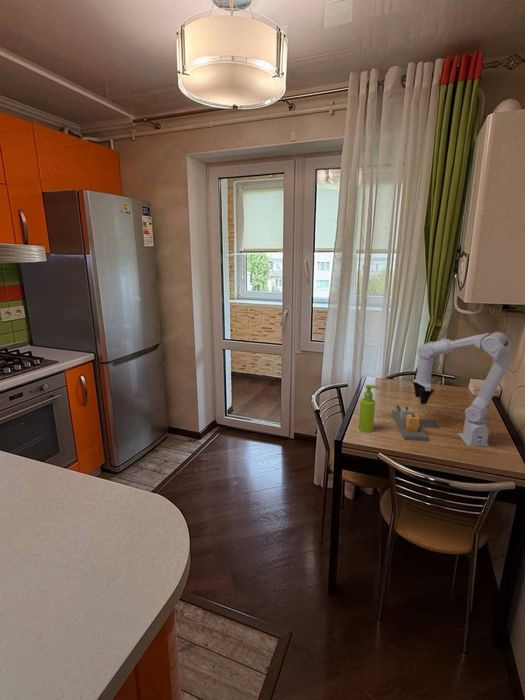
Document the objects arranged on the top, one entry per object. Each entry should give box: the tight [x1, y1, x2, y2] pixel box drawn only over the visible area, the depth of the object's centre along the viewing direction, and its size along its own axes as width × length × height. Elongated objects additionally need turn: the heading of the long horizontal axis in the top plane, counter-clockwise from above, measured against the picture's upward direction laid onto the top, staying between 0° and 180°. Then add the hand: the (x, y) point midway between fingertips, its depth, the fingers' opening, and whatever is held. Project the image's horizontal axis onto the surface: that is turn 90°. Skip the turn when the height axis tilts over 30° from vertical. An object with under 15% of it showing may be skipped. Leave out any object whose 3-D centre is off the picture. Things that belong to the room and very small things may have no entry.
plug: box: [405, 413, 420, 432], centre depth 154 cm, size 4×4×8 cm
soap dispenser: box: [358, 384, 380, 434], centre depth 155 cm, size 6×7×20 cm
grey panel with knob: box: [391, 404, 429, 442], centre depth 162 cm, size 32×9×7 cm, turn 173°
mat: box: [419, 418, 442, 429], centre depth 162 cm, size 8×8×1 cm
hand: (420, 400), depth 161 cm, fingers open, 7 cm apart
